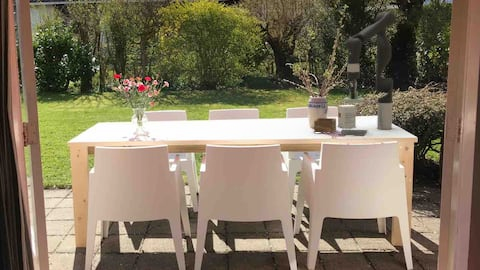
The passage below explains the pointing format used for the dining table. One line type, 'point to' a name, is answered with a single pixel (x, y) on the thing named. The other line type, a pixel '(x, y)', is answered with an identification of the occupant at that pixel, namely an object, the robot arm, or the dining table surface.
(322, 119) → the walnut box
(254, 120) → the dining table surface
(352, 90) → the robot arm
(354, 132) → the rubber mat
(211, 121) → the dining table surface
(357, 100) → the lid
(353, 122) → the supplement box
